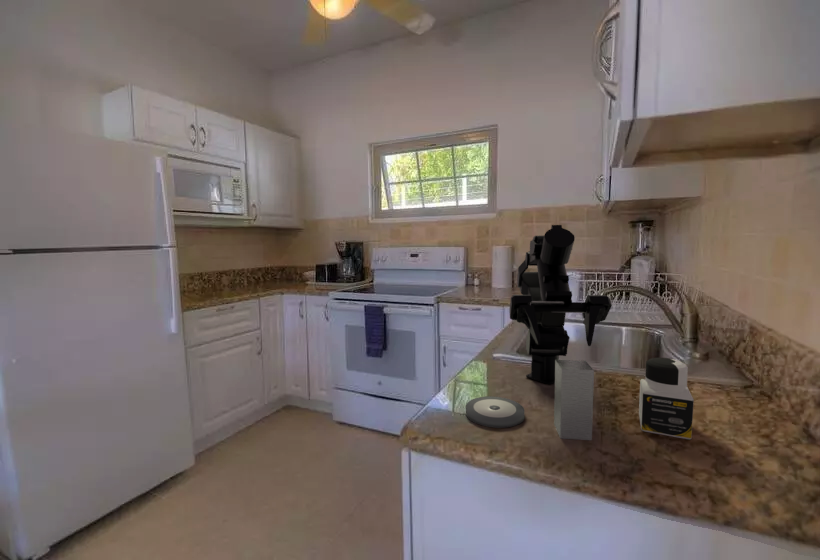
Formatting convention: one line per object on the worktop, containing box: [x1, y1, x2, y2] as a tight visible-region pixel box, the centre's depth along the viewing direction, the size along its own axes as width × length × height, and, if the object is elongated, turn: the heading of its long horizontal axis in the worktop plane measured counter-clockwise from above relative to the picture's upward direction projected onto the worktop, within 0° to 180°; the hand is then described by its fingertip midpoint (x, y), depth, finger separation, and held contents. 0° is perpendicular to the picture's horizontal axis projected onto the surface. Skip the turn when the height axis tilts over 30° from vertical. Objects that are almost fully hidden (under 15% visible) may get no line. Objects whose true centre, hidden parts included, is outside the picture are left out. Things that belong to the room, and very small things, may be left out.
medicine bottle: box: [638, 357, 695, 440], centre depth 67 cm, size 7×7×12 cm
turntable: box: [465, 395, 525, 429], centre depth 74 cm, size 11×11×1 cm
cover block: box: [553, 359, 595, 441], centre depth 66 cm, size 5×5×12 cm
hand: (563, 344), depth 72 cm, fingers open, 9 cm apart
